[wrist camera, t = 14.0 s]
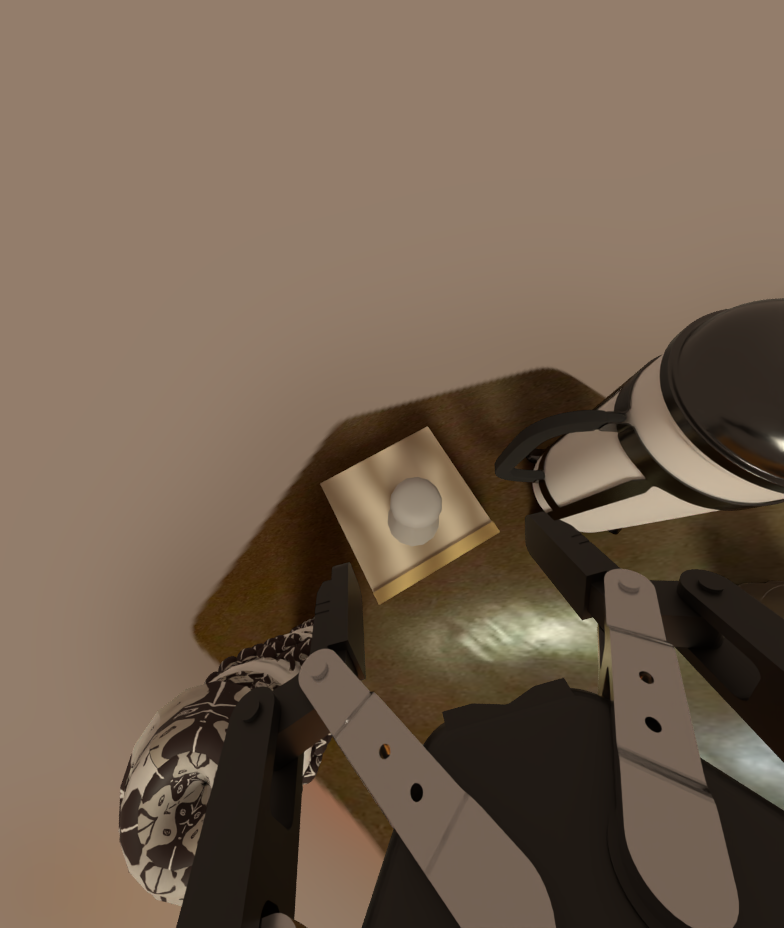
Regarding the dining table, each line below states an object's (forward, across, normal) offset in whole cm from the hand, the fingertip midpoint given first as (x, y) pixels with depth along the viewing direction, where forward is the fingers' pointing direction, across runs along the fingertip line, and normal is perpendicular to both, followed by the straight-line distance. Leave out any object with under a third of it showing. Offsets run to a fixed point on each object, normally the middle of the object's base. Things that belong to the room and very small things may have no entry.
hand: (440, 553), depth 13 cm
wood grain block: (+24, 0, +15) cm, 28 cm away
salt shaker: (+19, 0, +13) cm, 23 cm away
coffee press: (+22, -21, +17) cm, 35 cm away
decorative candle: (+14, +14, +24) cm, 31 cm away
